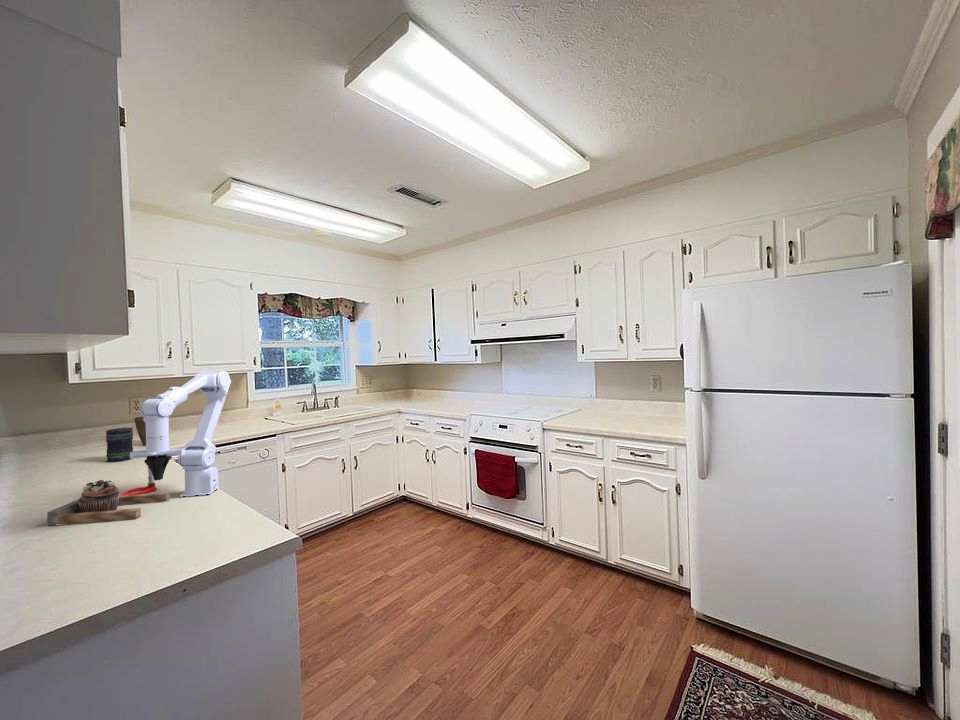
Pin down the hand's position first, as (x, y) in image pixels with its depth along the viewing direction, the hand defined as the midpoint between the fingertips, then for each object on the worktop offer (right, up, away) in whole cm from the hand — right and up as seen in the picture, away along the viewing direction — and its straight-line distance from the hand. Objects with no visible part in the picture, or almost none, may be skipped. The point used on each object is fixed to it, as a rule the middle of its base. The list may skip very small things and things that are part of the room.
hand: (158, 479), depth 127 cm
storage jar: (-74, -11, +69) cm, 102 cm away
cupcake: (-17, -10, -2) cm, 20 cm away
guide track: (-13, -10, -1) cm, 16 cm away
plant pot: (-89, -12, +107) cm, 139 cm away
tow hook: (-21, -10, +17) cm, 29 cm away
